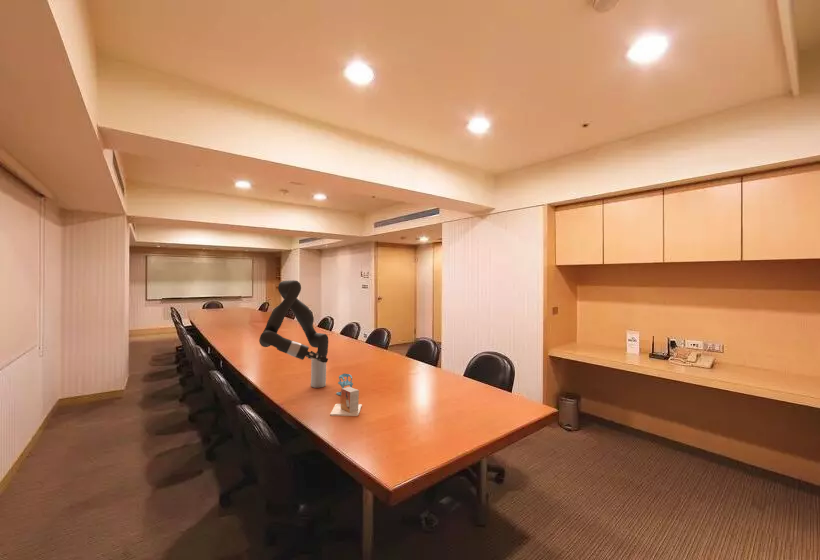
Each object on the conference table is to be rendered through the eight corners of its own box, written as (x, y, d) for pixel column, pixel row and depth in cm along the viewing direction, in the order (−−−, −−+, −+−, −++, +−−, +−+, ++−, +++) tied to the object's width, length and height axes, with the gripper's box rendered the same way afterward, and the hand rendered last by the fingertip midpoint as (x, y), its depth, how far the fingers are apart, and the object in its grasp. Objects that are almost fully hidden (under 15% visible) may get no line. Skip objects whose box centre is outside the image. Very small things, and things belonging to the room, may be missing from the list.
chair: (342, 398, 193) (343, 377, 193) (336, 394, 200) (336, 373, 200) (354, 395, 198) (355, 375, 198) (347, 391, 205) (348, 371, 205)
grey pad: (335, 405, 182) (335, 403, 182) (361, 405, 182) (361, 404, 182) (330, 415, 168) (330, 413, 168) (358, 416, 168) (358, 414, 168)
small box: (340, 408, 175) (340, 388, 175) (349, 406, 179) (349, 386, 179) (349, 413, 170) (350, 392, 170) (358, 410, 174) (359, 389, 174)
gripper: (301, 342, 174) (331, 353, 178) (299, 344, 187) (326, 354, 191) (295, 356, 171) (325, 367, 176) (293, 357, 184) (321, 367, 188)
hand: (326, 360), depth 183 cm, fingers open, 8 cm apart
